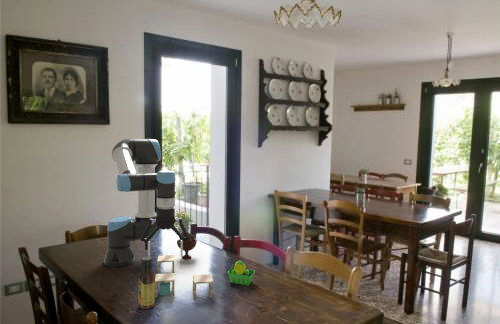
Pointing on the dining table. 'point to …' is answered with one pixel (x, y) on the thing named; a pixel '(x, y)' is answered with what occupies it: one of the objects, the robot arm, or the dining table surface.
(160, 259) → the cover
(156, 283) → the cover
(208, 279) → the cover
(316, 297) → the dining table surface
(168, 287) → the teal cube
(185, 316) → the dining table surface
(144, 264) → the sauce bottle
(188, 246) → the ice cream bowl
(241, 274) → the fruit basket
